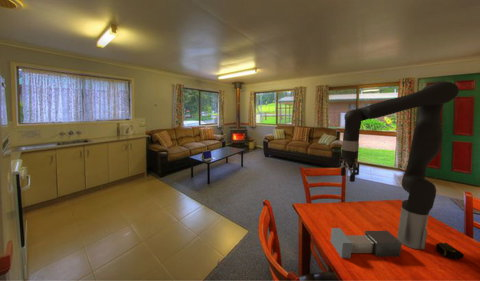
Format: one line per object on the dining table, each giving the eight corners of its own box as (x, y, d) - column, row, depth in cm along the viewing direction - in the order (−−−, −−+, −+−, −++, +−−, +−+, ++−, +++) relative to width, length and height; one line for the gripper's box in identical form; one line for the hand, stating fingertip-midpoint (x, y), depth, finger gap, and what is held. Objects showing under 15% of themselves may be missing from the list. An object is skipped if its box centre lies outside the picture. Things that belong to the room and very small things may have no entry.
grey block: (338, 241, 88) (339, 228, 87) (350, 258, 78) (352, 243, 77) (330, 241, 88) (331, 228, 87) (341, 258, 78) (342, 243, 77)
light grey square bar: (371, 244, 85) (372, 233, 84) (380, 253, 80) (382, 242, 79) (335, 243, 86) (336, 233, 85) (342, 253, 80) (343, 242, 79)
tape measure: (463, 261, 76) (465, 253, 75) (447, 260, 76) (448, 253, 76) (446, 249, 83) (447, 241, 82) (430, 248, 83) (432, 241, 82)
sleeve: (385, 243, 86) (387, 230, 85) (399, 256, 78) (401, 242, 77) (363, 243, 86) (365, 230, 85) (375, 256, 79) (377, 242, 78)
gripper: (335, 146, 100) (333, 173, 102) (350, 152, 85) (347, 183, 88) (349, 146, 99) (346, 173, 102) (366, 151, 85) (363, 183, 88)
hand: (347, 178), depth 95 cm, fingers open, 8 cm apart
